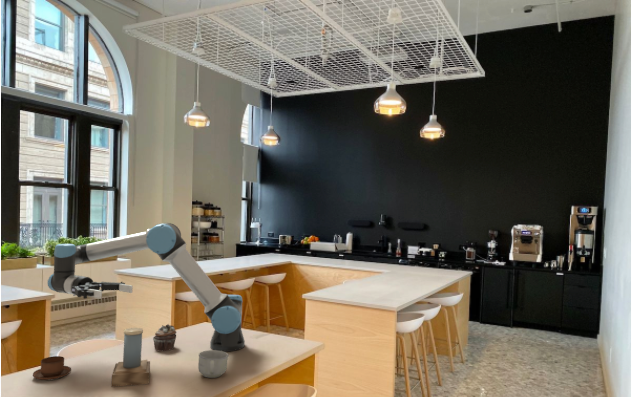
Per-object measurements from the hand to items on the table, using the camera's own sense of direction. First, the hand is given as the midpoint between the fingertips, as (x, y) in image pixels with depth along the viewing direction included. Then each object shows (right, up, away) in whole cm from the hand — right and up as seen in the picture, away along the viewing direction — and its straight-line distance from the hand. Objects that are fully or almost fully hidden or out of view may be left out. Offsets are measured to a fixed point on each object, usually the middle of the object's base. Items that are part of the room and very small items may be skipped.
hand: (116, 291), depth 171 cm
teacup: (+36, -31, -1) cm, 48 cm away
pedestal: (+8, -30, -6) cm, 32 cm away
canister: (+8, -25, -6) cm, 27 cm away
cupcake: (+8, -31, +30) cm, 44 cm away
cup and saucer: (-21, -30, -5) cm, 37 cm away
